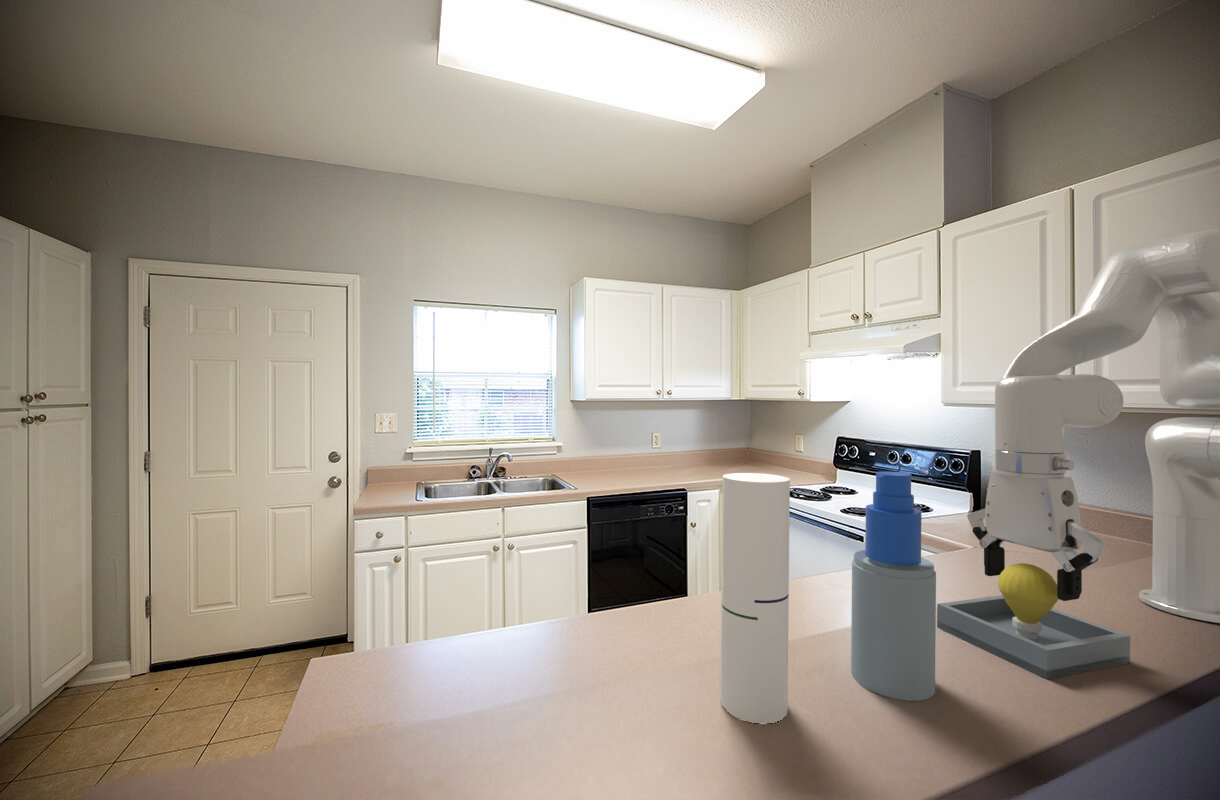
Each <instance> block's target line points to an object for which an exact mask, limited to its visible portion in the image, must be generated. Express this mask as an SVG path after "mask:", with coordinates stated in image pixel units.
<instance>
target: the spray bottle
mask: <svg viewBox="0 0 1220 800" xmlns="http://www.w3.org/2000/svg"><path fill="white" fill-rule="evenodd" d="M864 538H865V543H864V544H865V546H864V547H865V549H864V550H858V551H856V552H854V555H853V560H852V561H851V623H850V624H851V626H850V627H851V630H850V633H851V635H850V636H851V637H850V638H851V639H850V640H851V641H850V642H851V645H850V646H851V647H850V650H851V651H850V673H851V674H852V675H851V676H852V677H853V679H854V680H855V681H856V682H857V683H858V684H859V685H860V686H862V687H863V688H865V689H867V690H869V691H871V692H874V693H876V694H878V695H881V696H883V697H887V698H891V699H895V700H899V701H907V702H919V701H923V702H924V701H925V700H928V699H931V698H933V696H934V695H935V694H936V634H937V633H936V630H937V629H936V627H937V616H936V615H937V572H936V571H935V564H934V563H933V562H932V561H930V560H929V559H926V558H923V557H922V510H920V509H918V508H915V496H914V494H912V473H911V472H907V471H906V472H905V471H876V472H875V491H872V504H871V503H870V504H867V505H866V506H865V537H864Z"/></svg>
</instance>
